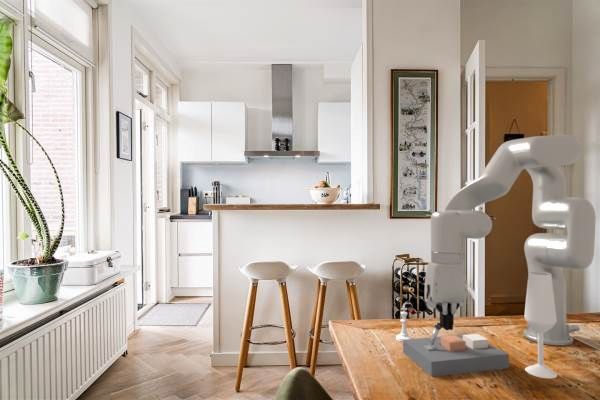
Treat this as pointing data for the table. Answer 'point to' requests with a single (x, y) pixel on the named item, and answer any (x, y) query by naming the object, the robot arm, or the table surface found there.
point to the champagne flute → (540, 316)
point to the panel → (453, 357)
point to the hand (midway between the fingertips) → (446, 328)
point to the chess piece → (403, 327)
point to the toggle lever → (435, 333)
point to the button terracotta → (453, 343)
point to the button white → (475, 341)
